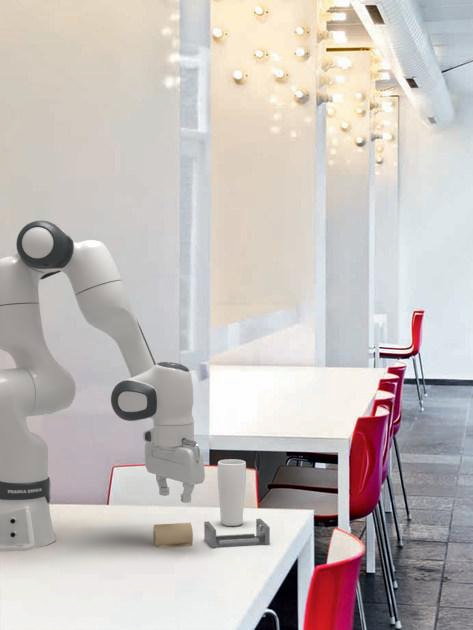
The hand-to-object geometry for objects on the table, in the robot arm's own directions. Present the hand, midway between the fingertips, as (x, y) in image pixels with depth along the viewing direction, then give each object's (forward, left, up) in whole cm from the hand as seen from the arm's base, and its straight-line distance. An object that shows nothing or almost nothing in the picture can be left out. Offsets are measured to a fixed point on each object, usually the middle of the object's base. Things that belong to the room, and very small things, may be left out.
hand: (175, 498), depth 244 cm
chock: (-1, 0, -11) cm, 11 cm away
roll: (-1, 0, -8) cm, 8 cm away
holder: (+13, -2, -11) cm, 17 cm away
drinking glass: (+16, +16, -11) cm, 25 cm away
